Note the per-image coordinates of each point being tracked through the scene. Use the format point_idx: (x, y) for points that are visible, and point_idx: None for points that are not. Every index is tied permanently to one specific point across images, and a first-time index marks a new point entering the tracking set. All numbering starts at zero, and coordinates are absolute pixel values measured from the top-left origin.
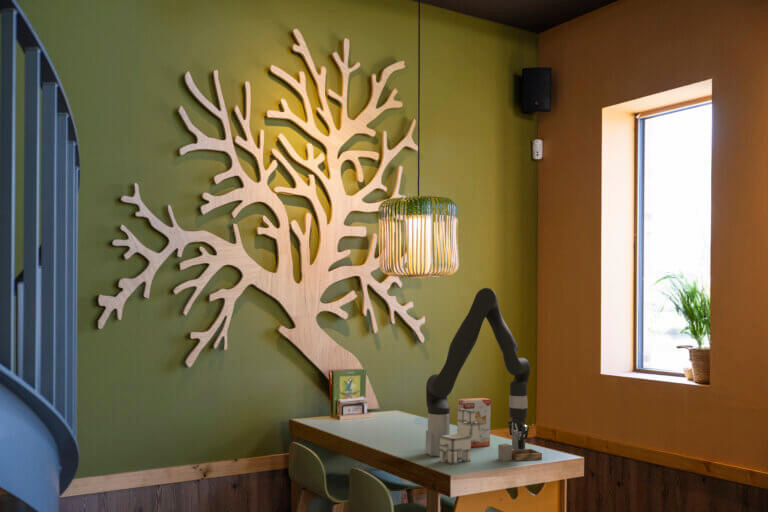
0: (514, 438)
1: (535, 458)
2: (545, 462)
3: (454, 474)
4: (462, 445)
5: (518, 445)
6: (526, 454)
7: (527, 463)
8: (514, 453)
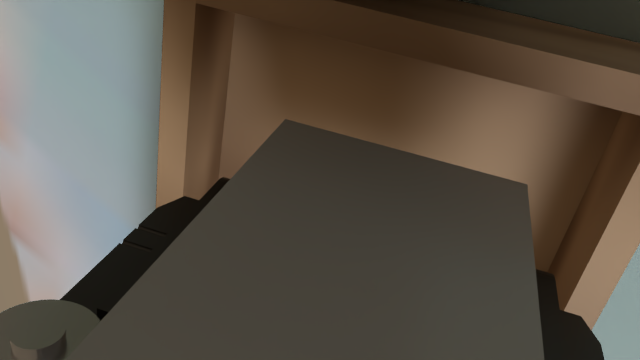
0: (315, 350)
1: None
2: (37, 264)
3: None
4: None
5: None
6: (161, 195)
7: (26, 10)
8: (570, 243)
